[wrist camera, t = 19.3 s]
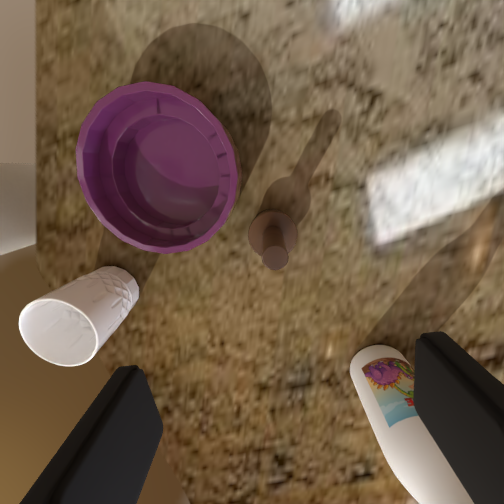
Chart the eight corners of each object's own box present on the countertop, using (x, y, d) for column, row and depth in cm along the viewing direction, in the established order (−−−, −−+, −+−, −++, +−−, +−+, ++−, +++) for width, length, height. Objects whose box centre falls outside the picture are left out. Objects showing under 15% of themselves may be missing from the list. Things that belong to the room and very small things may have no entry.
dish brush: (253, 253, 32) (248, 291, 22) (246, 211, 30) (237, 231, 20) (296, 247, 31) (310, 283, 22) (291, 203, 30) (304, 221, 20)
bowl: (133, 247, 32) (108, 262, 27) (90, 114, 28) (49, 101, 22) (252, 229, 31) (249, 241, 26) (228, 85, 26) (218, 64, 21)
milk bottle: (391, 391, 37) (519, 619, 19) (340, 379, 37) (419, 598, 18) (413, 349, 35) (587, 563, 16) (359, 337, 35) (472, 539, 16)
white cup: (137, 259, 33) (85, 296, 23) (149, 312, 35) (107, 365, 26) (79, 262, 33) (6, 300, 24) (95, 314, 36) (34, 367, 26)
